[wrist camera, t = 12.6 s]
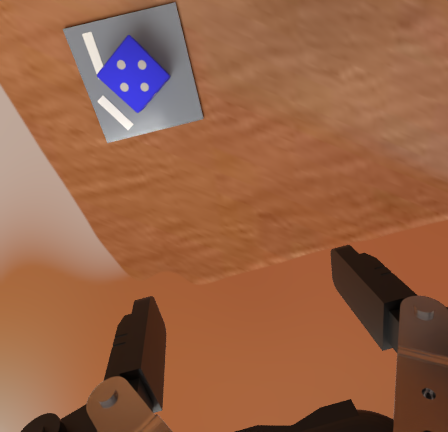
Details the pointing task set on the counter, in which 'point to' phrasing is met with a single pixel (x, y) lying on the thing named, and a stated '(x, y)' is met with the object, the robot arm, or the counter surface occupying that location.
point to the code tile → (159, 49)
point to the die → (133, 74)
